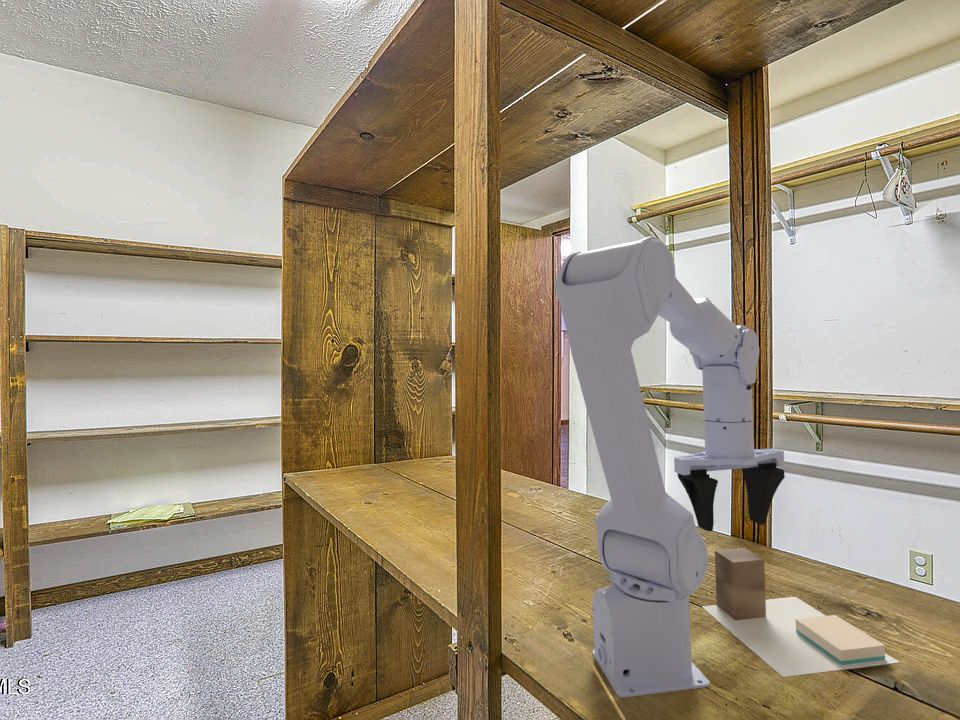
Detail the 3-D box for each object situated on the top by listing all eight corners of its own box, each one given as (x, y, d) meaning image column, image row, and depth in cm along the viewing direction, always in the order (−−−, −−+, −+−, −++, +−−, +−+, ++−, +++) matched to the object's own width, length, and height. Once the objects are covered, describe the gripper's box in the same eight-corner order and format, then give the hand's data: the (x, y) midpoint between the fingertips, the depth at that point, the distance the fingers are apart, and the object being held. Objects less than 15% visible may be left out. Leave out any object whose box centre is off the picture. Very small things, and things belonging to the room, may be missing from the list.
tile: (796, 632, 61) (841, 665, 54) (795, 619, 61) (841, 650, 54) (835, 627, 61) (885, 659, 55) (835, 614, 61) (884, 645, 55)
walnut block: (716, 604, 68) (714, 550, 68) (745, 601, 68) (743, 547, 68) (735, 620, 64) (733, 562, 64) (766, 616, 64) (764, 559, 64)
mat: (783, 680, 53) (782, 676, 53) (701, 609, 68) (701, 606, 68) (899, 666, 54) (899, 662, 54) (795, 599, 69) (795, 596, 69)
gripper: (696, 427, 63) (700, 542, 63) (801, 419, 66) (805, 529, 66) (663, 420, 70) (667, 524, 70) (760, 413, 72) (763, 512, 73)
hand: (731, 525), depth 68 cm, fingers open, 7 cm apart
